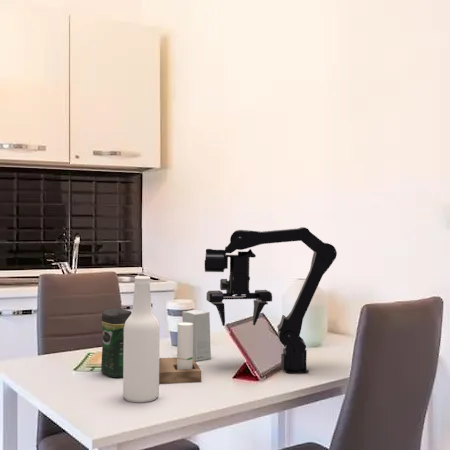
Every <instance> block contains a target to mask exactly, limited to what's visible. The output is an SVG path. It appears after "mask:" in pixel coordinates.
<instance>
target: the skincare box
mask: <svg viewBox="0 0 450 450" xmlns="http://www.w3.org/2000/svg"><path fill="white" fill-rule="evenodd" d="M181 315H182V323H185V322H186V323H193V359H194V360H195V362H196V361H197V362H198V361H205V360H211V358H212V354H211V352H212V351H211V323H210V322H211V321H210V319H211V318H210V311H206V310H199V309H191V310H184V311H182V313H181Z"/></svg>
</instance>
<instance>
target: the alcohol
mask: <svg viewBox="0 0 450 450" xmlns="http://www.w3.org/2000/svg"><path fill="white" fill-rule="evenodd" d="M133 279H134V282H133V284H134V287H133V288H134V289H133V297H132V298H133V299H132V300H133V301H132V309H131V312H132V313H131V315H130V316H129V317H128V319H127V320H126V322H125V325H124V354H123V377H122V378H123V379H122V381H123V382H122V384H123V385H122V395H123V398H124V399H125V400H126V401H128V402H131V403H136V404H138V403H142V404H143V403H149V402H152V401H155V400H157V399H158V396H159V395H160V384H159V358H160V331H161V330H160V329H161V327H160V324H159V323H160V322H159V320H158V318H157V317H156V316H155V315H154V313H153V311H152V310H153V309H152V297H151V286H150V285H151V277H150V276H148V275H136V276H135V277H133Z"/></svg>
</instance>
